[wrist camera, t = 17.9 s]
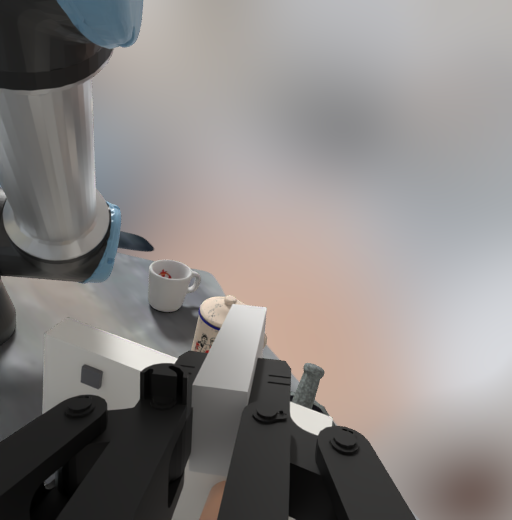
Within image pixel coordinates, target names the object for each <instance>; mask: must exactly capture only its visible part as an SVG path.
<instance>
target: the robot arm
mask: <svg viewBox="0 0 512 520" xmlns="http://www.w3.org/2000/svg"><path fill="white" fill-rule="evenodd" d="M142 9H143V0H0V185H1V187H2V188H0V345H1V344H3V343H4V342H5V341H6V340H7V339H8V338H9V337H10V336H11V335H12V333H13V332H14V330H15V327H16V312H15V308H14V305H13V303H12V301H11V299H10V297H9V295H8V293H7V291H6V289H5V287H4V285H3V283H2V281H1V276H14V277H26V278H38V279H50V280H62V281H74V282H79V283H88V282H94V283H99V282H103V281H105V280H106V279H108V277H109V276H110V274H111V272H112V269H113V265H114V260H115V259H114V258H115V256H116V253H117V248H118V242H119V236H120V226H121V212H120V209H119V207H118V206H116V205H114V204H110V203H109V202H106V201H105V200H104V198H103V196H102V195H101V194H100V193H99V191H98V190H97V189H96V186H95V157H94V126H93V97H92V77H94V76H95V75H96V74H97V73H99V72H100V71H101V70H102V69H103V68H104V67H105V65H106V64H107V63H108V61H109V59H110V58H111V56H112V53H113V50H114V48H115V47H119V46H121V47H129V46H131V45H133V44H134V43H135V42H136V40H137V38H138V35H139V32H140V26H141V20H142ZM266 310H267V308H266V307H256V306H248V305H238V304H232V306H231V308H230V310H229V312H228V314H227V316H226V318H225V320H224V322H223V324H222V326H221V328H220V330H219V332H218V334H217V336H216V338H215V340H214V342H213V344H212V346H211V348H210V350H209V352H208V353H205V352H197V351H188V352H186V353H184V354H183V355H181V356H179V358H178V359H177V361H176V362H175V364H173V363H159V364H153V365H151V366H148V367H146V368H144V369H143V370H142V371H141V372H140V400H139V401H138V402H137V404H136V405H135V407H133V408H127V409H117V410H107V402H106V401H105V399H103V398H102V397H100V396H96V395H90V394H89V395H78V396H75V397H71V398H68V399H66V400H64V401H62V402H60V403H59V404H57V405H56V406H54V407H53V408H51V409H50V410H48V411H47V412H45V413H44V414H42V415H41V416H39V417H38V418H36V419H35V420H33V421H32V422H30V423H29V424H27V425H26V426H24V427H23V428H21V429H20V430H18V431H17V432H15V433H14V434H12V435H10V436H9V437H7V438H6V439H4V440H3V441H1V442H0V520H171V519H172V517H173V514H174V511H175V508H176V505H177V503H178V500H179V497H180V494H181V492H182V489H183V486H184V474H185V467H186V464H187V461H188V459H189V471H193V472H200V473H206V474H213V475H220V476H227V479H226V483H225V487H224V492H223V496H222V500H221V504H220V509H219V513H218V517H217V520H288V518H289V517H292V518H294V519H296V520H416V519H415V517H414V515H413V514H412V512H411V510H410V509H409V507H408V506H407V504H406V502H405V501H404V499H403V498H402V496H401V494H400V492H399V491H398V489H397V487H396V486H395V484H394V482H393V481H392V479H391V477H390V476H389V474H388V473H387V471H386V469H385V467H384V466H383V464H382V463H381V461H380V459H379V458H378V456H377V455H376V452H375V451H374V449H373V448H372V446H371V444H370V443H369V441H368V440H367V439H366V438H365V437H364V436H363V435H361V434H360V433H358V432H357V431H355V430H353V429H349V428H347V427H342V426H331V427H326V428H324V429H323V430H321V431H320V432H319V434H318V435H315V434H312V433H310V432H308V431H306V430H303V429H302V428H301V427H299V426H298V425H297V424H296V423H295V422H294V421H293V420H292V418H291V416H290V387H291V386H290V385H291V368H290V367H289V366H288V364H287V363H286V361H281V360H273V359H264V358H262V357H263V345H264V333H265V322H266ZM54 473H55V479H54V480H53V481H51V482H50V483H49V484H47V485H46V486H44V481H45V480H47V479H48V478H49V477H50V476H51V475H52V474H54Z"/></svg>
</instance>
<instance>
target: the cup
mask: <svg viewBox="0 0 512 520" xmlns="http://www.w3.org/2000/svg"><path fill="white" fill-rule="evenodd" d="M193 277H195V282H194V284H193V286H192V287H190V288H188V287H189V283H190V280H191V279H192V278H193ZM200 281H201V277H200V275H199V274H198V273H197V272H195V271H191V269H190V268H189V267H188V266H187V265H185V264H183V263H181V262H178V261H173V260H159V261H155V262H153V263H152V264H151V265H150V267H149V286H148V300H149V303H150V305H151V306H152V307H153V308H154V309H156V310H159V311H163V312H172V311H176V310H178V309H179V308H180V307H181V306H182V304H183V302H184V299H185V296H186V294H188V293H192V292H194V291H196V290H197V289H198V287H199V285H200Z"/></svg>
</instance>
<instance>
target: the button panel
mask: <svg viewBox="0 0 512 520" xmlns="http://www.w3.org/2000/svg"><path fill="white" fill-rule="evenodd" d="M176 361H177V358H175V357H172V356H169V355H167V354H164V353H162V352H159V351H156V350H154V349H151V348H148V347H146V346H143V345H140V344H138V343H135V342H133V341H130V340H127V339H125V338H122V337H119V336H117V335H114V334H112V333H109V332H106V331H104V330H101V329H98V328H96V327H93V326H91V325H88V324H85V323H83V322H80V321H77V320H75V319H72V318H70V317H67V318H66V319H64V320H63V321H61V322H60V323H59V324H57V325H56V326H54V327H53V328H52V329H50V330H49V331H47V332H46V333H44V368H43V406H42V414H44V413H45V412H47V411H48V410H50V409H51V408H53V407H54V406H56V405H57V404H59V403H60V402H62V401H64V400H66V399H68V398H71V397H75V396H78V395H89V394H90V395H96V396H100V397H102V398H103V399H105V401H106V402H107V410H117V409H127V408H133V407H135V405H136V404H137V402H138V401H139V400H140V372H141V371H142V370H143V369H144V368H146V367H148V366H151V365H153V364H159V363H173V364H175V362H176ZM290 416H291V418H292V420H293V421H294V422H295V423H296V424H297V425H298V426H299V427H301V428H302V429H303V430H306V431H308V432H310V433H312V434H315V435H318V434H319V432H320V431H321V430H323V429H324V428H326V427H331V426H332V417H330V416H327V415H324V414H322V413H319V412H317V411H314V410H311V409H309V408H306V407H303V406H301V405H298V404H296V403H293V402H290ZM226 479H227V476H220V475H213V474H206V473H200V472H193V471H189V459H188V461H187V464H186V467H185V474H184V486H183V489H182V492H181V494H180V497H179V500H178V503H177V505H176V508H175V511H174V514H173V517H172V519H171V520H199V519H200V516H201V513H202V511H203V508H204V505H205V503H206V500H207V497H208V495H209V492H210V490H211V488H212V487H213V486H214V485H215V484H217V483H219V482H221V481H226ZM288 520H295V519H294V518H292V517H289V518H288Z"/></svg>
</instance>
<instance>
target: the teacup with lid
mask: <svg viewBox="0 0 512 520" xmlns="http://www.w3.org/2000/svg"><path fill="white" fill-rule="evenodd" d="M232 304H238V305H245V304H244V303H242V302H240V301H238V300H237V299H236V298H235V297H234V296H231V295H228V296H226V297H212V298H209V299H207V300H205V301H204V302H203V303H202V304H201V306H200V307H199V318H198V322H197V327H196V331H195V335H194V340H193V344H192V349H191V351H197V352H205V353H208V352H209V350H210V348H211V346H212V344H213V342H214V340H215V338H216V336H217V334H218V332H219V330H220V328H221V326H222V324H223V322H224V320H225V318H226V316H227V314H228V312H229V310H230V308H231V306H232ZM266 342H267V337H266V334H265V333H264V345H263V349H264V347H265V346H266Z"/></svg>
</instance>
